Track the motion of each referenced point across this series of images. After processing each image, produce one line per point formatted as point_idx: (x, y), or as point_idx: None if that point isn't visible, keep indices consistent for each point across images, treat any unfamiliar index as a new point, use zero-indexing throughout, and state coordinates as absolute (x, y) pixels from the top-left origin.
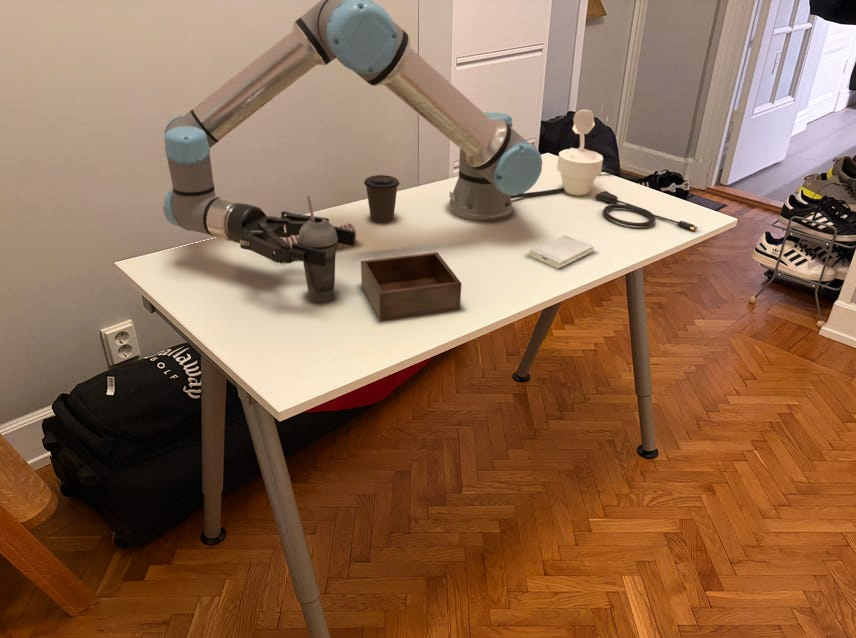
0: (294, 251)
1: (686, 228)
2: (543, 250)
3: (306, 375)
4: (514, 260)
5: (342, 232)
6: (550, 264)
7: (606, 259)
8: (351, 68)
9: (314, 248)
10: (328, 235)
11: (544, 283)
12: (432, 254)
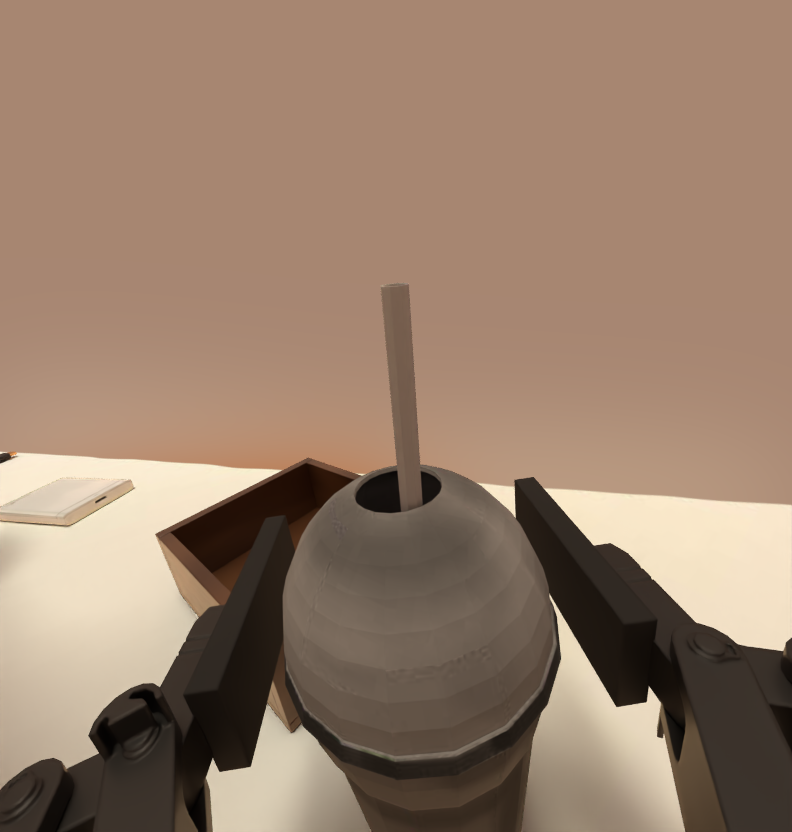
0: (657, 589)
1: (4, 459)
2: (70, 503)
3: (734, 539)
4: (86, 534)
5: (273, 563)
6: (116, 497)
7: (100, 472)
8: None
9: (541, 511)
10: (425, 488)
11: (191, 482)
12: (172, 534)
